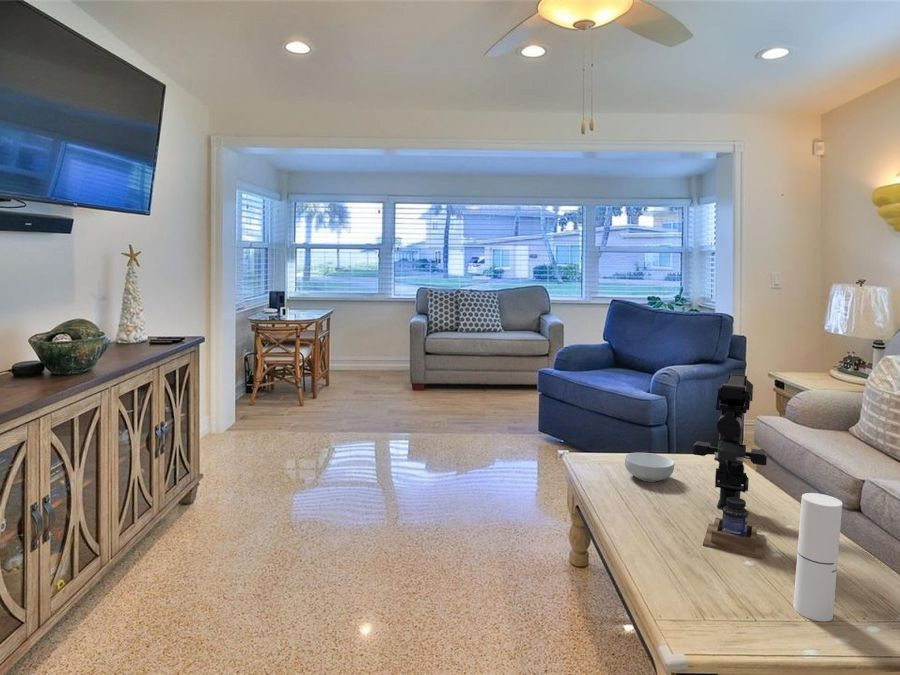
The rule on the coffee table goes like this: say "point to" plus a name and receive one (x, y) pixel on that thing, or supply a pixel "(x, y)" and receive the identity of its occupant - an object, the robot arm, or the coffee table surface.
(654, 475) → the cereal bowl
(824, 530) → the cylindrical container
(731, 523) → the pill bottle
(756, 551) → the walnut holder
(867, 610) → the coffee table surface
